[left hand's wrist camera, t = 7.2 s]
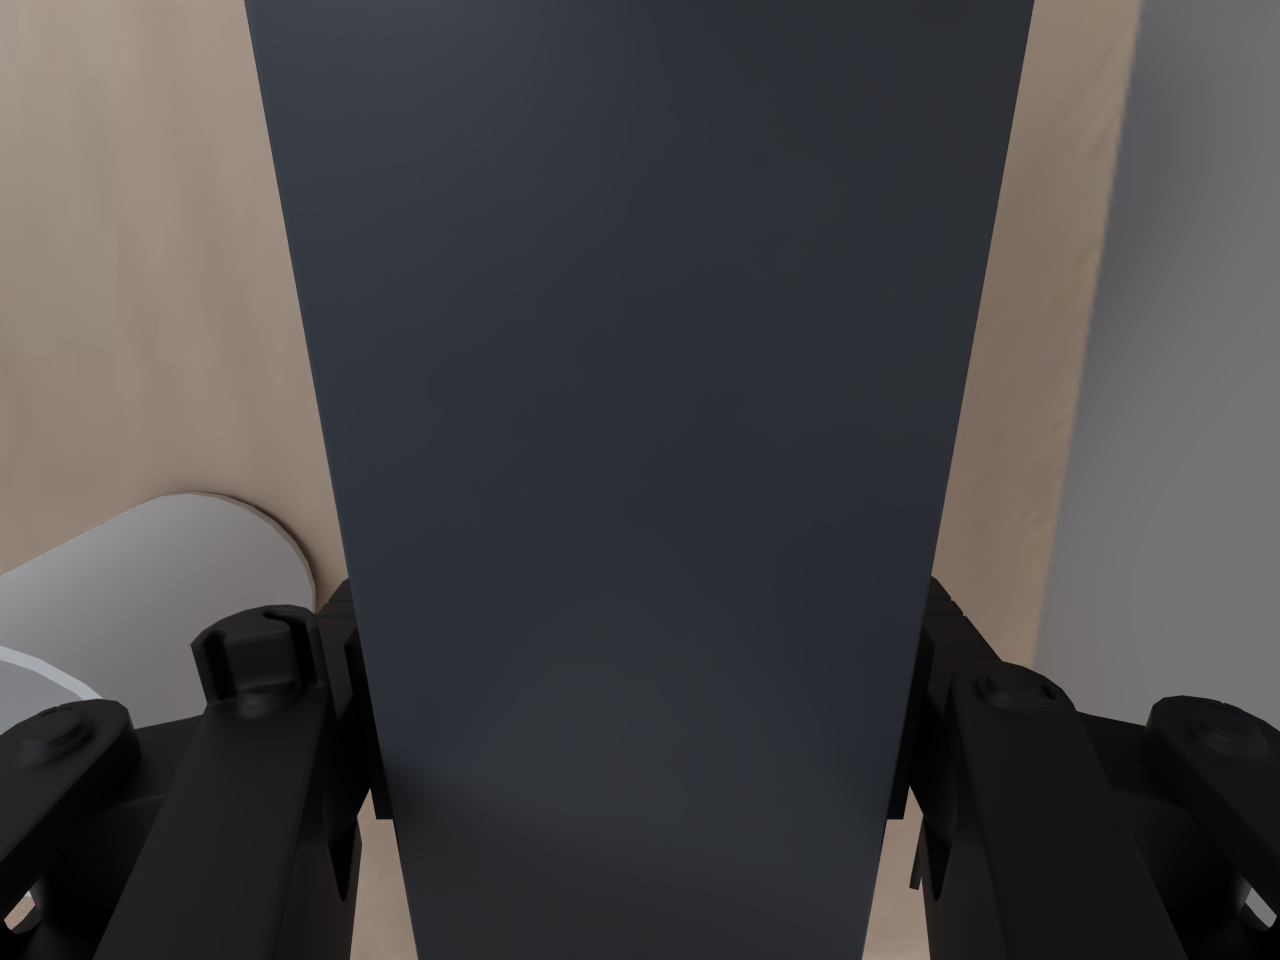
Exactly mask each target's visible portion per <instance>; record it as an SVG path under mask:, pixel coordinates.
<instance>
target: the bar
mask: <svg viewBox="0 0 1280 960" xmlns="http://www.w3.org/2000/svg"><path fill="white" fill-rule="evenodd" d="M244 1H245V7H246V12H247V18H248V23H249V29H250V34H251V40H252V46H253V51H254V57H255V62H256V68H257V73H258V79H259V84H260V90H261V95H262V101H263V106H264V112H265V117H266V123H267V128H268V134H269V139H270V145H271V150H272V156H273V161H274V167H275V172H276V178H277V183H278V189H279V194H280V200H281V206H282V211H283V217H284V222H285V228H286V233H287V239H288V244H289V250H290V255H291V261H292V266H293V272H294V277H295V283H296V288H297V294H298V299H299V305H300V310H301V316H302V321H303V327H304V332H305V338H306V343H307V349H308V354H309V360H310V366H311V371H312V377H313V382H314V388H315V393H316V399H317V404H318V410H319V415H320V421H321V426H322V432H323V437H324V443H325V448H326V454H327V459H328V465H329V470H330V476H331V481H332V487H333V492H334V498H335V503H336V509H337V514H338V520H339V525H340V531H341V537H342V542H343V548H344V553H345V559H346V564H347V570H348V575H349V581H350V586H351V592H352V597H353V603H354V608H355V614H356V619H357V625H358V630H359V636H360V641H361V647H362V652H363V658H364V663H365V669H366V674H367V680H368V685H369V691H370V697H371V702H372V708H373V713H374V719H375V724H376V730H377V735H378V741H379V746H380V752H381V757H382V763H383V768H384V774H385V779H386V785H387V790H388V796H389V801H390V807H391V812H392V818H393V823H394V829H395V834H396V840H397V845H398V851H399V857H400V862H401V868H402V873H403V879H404V884H405V890H406V895H407V901H408V906H409V912H410V917H411V923H412V928H413V934H414V939H415V945H416V950H417V956H418V960H862V956H863V951H864V945H865V939H866V934H867V928H868V923H869V917H870V912H871V906H872V901H873V895H874V889H875V884H876V878H877V873H878V867H879V862H880V856H881V850H882V845H883V839H884V834H885V828H886V823H887V817H888V812H889V806H890V800H891V795H892V789H893V784H894V778H895V773H896V767H897V761H898V756H899V750H900V745H901V739H902V734H903V728H904V723H905V717H906V711H907V706H908V700H909V695H910V689H911V684H912V678H913V672H914V667H915V661H916V656H917V650H918V645H919V639H920V634H921V628H922V622H923V617H924V611H925V606H926V600H927V595H928V589H929V584H930V578H931V572H932V567H933V561H934V556H935V550H936V545H937V539H938V533H939V528H940V522H941V517H942V511H943V506H944V500H945V495H946V489H947V483H948V478H949V472H950V467H951V461H952V456H953V450H954V444H955V439H956V433H957V428H958V422H959V417H960V411H961V406H962V400H963V394H964V389H965V383H966V378H967V372H968V367H969V361H970V355H971V350H972V344H973V339H974V333H975V328H976V322H977V317H978V311H979V305H980V300H981V294H982V289H983V283H984V278H985V272H986V266H987V261H988V255H989V250H990V244H991V239H992V233H993V228H994V222H995V216H996V211H997V205H998V200H999V194H1000V189H1001V183H1002V177H1003V172H1004V166H1005V161H1006V155H1007V150H1008V144H1009V139H1010V133H1011V127H1012V122H1013V116H1014V111H1015V105H1016V100H1017V94H1018V88H1019V83H1020V77H1021V72H1022V66H1023V61H1024V55H1025V50H1026V44H1027V38H1028V33H1029V27H1030V22H1031V16H1032V11H1033V5H1034V0H244Z"/></svg>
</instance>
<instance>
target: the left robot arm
mask: <svg viewBox="0 0 1280 960" xmlns="http://www.w3.org/2000/svg"><path fill="white" fill-rule="evenodd" d="M190 645H191V649H192V653H193V656H194V660H195V663H196V667H197V670H198V674H199V677H200V681H201V684H202V688H203V691H204V695H205V698H206V702H207V706H206V708H205V710H204V713H203V714H202V715H198V716H194V717H190V718H186V719H181V720H176V721H172V722H167V723H162V724H157V725H152V726H147V727H142V728H138V729H134V726H133V723H132V720H131V717H130V714H129V711H128V709H127V708H126V707H125V706H123V705H122V704H120V703H119V702H118V701H114V700H106V699H90V700H83V701H75V702H69V703H65V704H61V705H60V706H58V707H56V706H54V707H52V708H49V709H46V710H43V711H41V712H39V713H38V714H36V715H34V716H32V717H30V718H28V719H26V720H24V721H22V722H19V723H17V724H16V725H14V726H13V727H11V728H10V729H8V730H7V731H6V732H4V733H3V734H1V735H0V960H350V953H351V943H352V934H353V925H354V915H355V906H356V897H357V887H358V878H359V869H360V860H361V850H362V841H361V835H360V829H359V824H358V819H357V815H358V813H359V811H360V809H361V807H362V804H363V802H364V800H365V798H366V796H367V794H368V791H369V789H370V788H371V794H372V799H373V804H374V810H375V815H376V819H393V818H392V812H391V807H390V801H389V796H388V790H387V785H386V779H385V774H384V768H383V763H382V757H381V752H380V746H379V741H378V735H377V730H376V724H375V719H374V713H373V708H372V702H371V697H370V691H369V685H368V680H367V674H366V669H365V663H364V658H363V652H362V647H361V641H360V636H359V630H358V625H357V619H356V614H355V608H354V603H353V597H352V592H351V586H350V581H349V578H348V579H346V580H345V581H343V582H342V584H341V585H340V586H339V587H338V589H337V590H336V591H335V592H334V594H333V595H332V596H331V598H330V599H329V603H326V604H325V605H324V606H323V608H322V609H321V610H320V611H319V613H318V614H317V615H315V614H314V613H313V612H311V611H310V610H309V609H307V608H305V607H300V606H295V605H290V604H284V605H266V606H262V607H257V608H252V609H248V610H243V611H241V612H238V613H236V614H233V615H231V616H228V617H226V618H223V619H221V620H219V621H217V622H216V623H214V624H213V625H211V626H209V627H208V628H206V629H205V630H203V631H202V632H201V633H200V634H199V635H198V636H197V637H196V638H195V640H194V641H193V642H192V643H191V644H190ZM909 786H910V787H911V789H912V791H913V793H914V796H915V798H916V800H917V802H918V804H919V806H920V808H921V811H922V813H923V819H922V824H921V829H920V834H919V839H918V844H917V849H916V854H915V859H914V864H913V869H912V874H911V880H910V886H909V888H912V889H916V890H919V885H920V881H921V876H922V886H923V895H924V904H925V913H926V923H927V932H928V941H929V951H930V960H1280V731H1278V730H1277V729H1275V728H1274V727H1273V726H1271V725H1270V724H1268V723H1267V722H1265V721H1264V720H1262V719H1260V718H1257V717H1255V716H1253V715H1251V714H1249V713H1247V712H1245V711H1243V710H1242V709H1240V708H1238V707H1235V706H1233V705H1230V704H1227V703H1224V704H1223V703H1221V702H1220V701H1216V700H1212V699H1207V698H1199V697H1191V696H1184V695H1182V696H1173V697H1165V698H1162V699H1161V700H1160V701H1158V702H1157V703H1156V704H1154V705H1153V707H1152V709H1151V713H1150V715H1149V718H1148V721H1147V724H1146V726H1143V725H1138V724H1133V723H1128V722H1123V721H1118V720H1113V719H1108V718H1103V717H1098V716H1093V715H1089V714H1086V713H1082V712H1078V711H1076V709H1075V707H1074V705H1073V703H1072V702H1071V700H1070V699H1069V698H1068V696H1067V695H1066V694H1065V692H1064V691H1063V690H1062V689H1061V688H1060V687H1059V686H1057V685H1056V684H1054V683H1053V682H1052V681H1050V680H1049V679H1048V678H1046V677H1045V676H1043V675H1041V674H1038V673H1036V672H1034V671H1032V670H1030V669H1027V668H1025V667H1023V666H1020V665H1016V664H1012V663H1008V662H1004V661H1001V659H1000V658H999V657H998V656H997V654H996V653H995V652H994V651H993V649H992V648H991V647H990V646H989V644H988V643H987V642H986V641H985V639H984V638H983V637H982V636H981V634H980V633H979V632H978V630H977V629H976V628H975V627H974V625H973V624H972V623H971V622H970V620H969V619H968V618H967V617H966V616H963V612H962V610H961V609H960V608H959V607H958V605H957V604H956V603H955V602H954V601H951V597H950V595H949V594H948V593H947V592H946V590H945V589H944V588H943V587H942V585H941V584H940V583H939V582H938V580H937V579H936V578H934V577H932V576H931V578H930V584H929V589H928V595H927V600H926V606H925V611H924V617H923V622H922V628H921V634H920V639H919V645H918V650H917V656H916V661H915V667H914V672H913V678H912V684H911V689H910V695H909V700H908V706H907V711H906V717H905V723H904V728H903V734H902V739H901V745H900V750H899V756H898V761H897V767H896V773H895V778H894V784H893V789H892V795H891V800H890V806H889V812H888V817H887V819H903V818H904V812H905V807H906V802H907V796H908V791H909ZM1252 887H1253V889H1254V890H1255V891H1256V892H1257V893H1258V894H1259V896H1260V897H1261V898H1262V899H1263V900H1264V901H1265V903H1266V904H1267V905H1268V906H1269V907H1270V908H1271V910H1272V911H1273V912H1274V913H1275V914H1276V915H1277V918H1276V920H1275V922H1274V924H1273V925H1272V926H1271V927H1268V926H1267V925H1265V924H1264V923H1263V922H1262V921H1261V920H1260V919H1259V918H1258V917H1257V916H1256V915H1255V914H1254V912H1253V911H1252V910H1251V909H1250V907H1249V906H1248V905H1247V904H1246V903H1245V901H1246V899H1247V897H1248V894H1249V892H1250V890H1251V888H1252ZM28 891H29V892H30V894H31V896H32V898H33V900H34V903H35V906H34V907H33V909H32V910H31V911H30V912H29V913H28V915H27V916H26V917H25V918H24V919H23V920H22V921H21V922H20V923H19V924H18V925H17V926H15V927H14V928H13V929H12V930H10V929H9V928H8V927H7V925H6V923H5V921H4V919H5V918H6V917H7V915H8V914H9V913H10V912H11V911H12V910H13V908H14V907H15V906H16V905H17V904H18V903H19V901H20V900H21V899H22V898H23V897H24V896H25V894H26V893H27V892H28Z"/></svg>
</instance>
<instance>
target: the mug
mask: <svg viewBox="0 0 1280 960" xmlns="http://www.w3.org/2000/svg"><path fill="white" fill-rule="evenodd" d="M284 604H290V605H295V606H300V607H305V608H307V609H309V610H310V611H311V612H313V613H315V584H314V580H313V577H312V574H311V570H310V567H309V564H308V561H307V560H306V558H305V556H304V555H303V553H302V551H301V550H300V548H299V547H298V545H297V543H296V542H295V540H294V539H293V538H292V537H291V536H290V535H289V534H288V533H287V532H286V531H285V530H284V529H283V528H282V527H281V526H280V525H279V524H278V523H277V522H276V521H274V520H273V519H271V518H270V517H268V516H267V515H265V514H264V513H262V512H260V511H259V510H257V509H256V508H254V507H253V506H251V505H248V504H245V503H243V502H240V501H238V500H235V499H232V498H230V497H227V496H223V495H216V494H210V493H203V492H197V491H188V492H176V493H166V494H164V495H161V496H158V497H156V498H153V499H150V500H148V501H145V502H142V503H141V504H139V505H137V506H135V507H133V508H131V509H129V510H127V511H125V512H123V513H122V514H120V515H118V516H116V517H114V518H112V519H110V520H108V521H106V522H104V523H102V524H100V525H98V526H96V527H94V528H92V529H90V530H88V531H86V532H85V533H83V534H81V535H79V536H77V537H75V538H73V539H71V540H69V541H67V542H65V543H63V544H61V545H59V546H57V547H55V548H53V549H51V550H49V551H48V552H46V553H44V554H42V555H40V556H38V557H36V558H34V559H32V560H30V561H28V562H26V563H24V564H22V565H20V566H18V567H16V568H14V569H13V570H11V571H9V572H7V573H5V574H3V575H1V576H0V735H1V734H3V733H4V732H6V731H7V730H8V729H10V728H11V727H13V726H14V725H16V724H17V723H19V722H22V721H24V720H26V719H28V718H30V717H32V716H34V715H36V714H38V713H39V712H41V711H43V710H46V709H49V708H52V707H54V706H56V707H58V706H60V705H61V704H65V703H69V702H75V701H83V700H90V699H106V700H114V701H118V702H119V703H120V704H122V705H123V706H125V707H126V708H127V709H128V711H129V714H130V717H131V720H132V723H133V726H134V729H138V728H142V727H147V726H152V725H157V724H162V723H167V722H172V721H176V720H181V719H186V718H190V717H194V716H198V715H202V714H203V713H204V710H205V708H206V706H207V702H206V698H205V695H204V691H203V688H202V684H201V681H200V677H199V674H198V670H197V667H196V663H195V660H194V656H193V653H192V649H191V645H190V644H191V643H192V642H193V641H194V640H195V638H196V637H197V636H198V635H199V634H200V633H201V632H202V631H203V630H205V629H206V628H208V627H209V626H211V625H213V624H214V623H216V622H217V621H219V620H221V619H223V618H226V617H228V616H231V615H233V614H236V613H238V612H241V611H243V610H248V609H252V608H257V607H262V606H266V605H284ZM25 896H27V897H32V896H31V894H30V892H29V891H28V892H27V893H26V894H25Z"/></svg>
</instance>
